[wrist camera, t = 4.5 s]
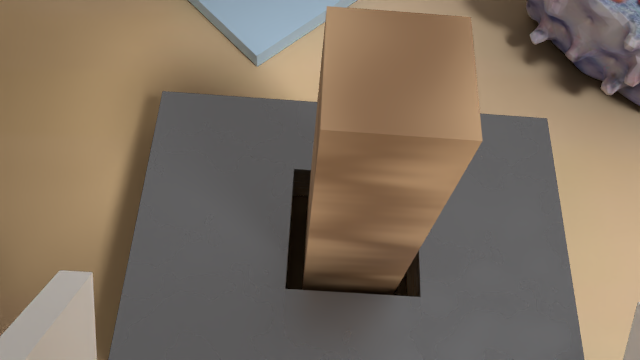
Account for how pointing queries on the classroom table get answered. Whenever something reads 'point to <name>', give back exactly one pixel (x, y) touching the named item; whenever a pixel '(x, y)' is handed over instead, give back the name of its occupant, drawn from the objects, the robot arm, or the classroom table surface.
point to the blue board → (265, 22)
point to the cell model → (594, 39)
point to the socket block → (323, 306)
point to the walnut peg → (386, 143)
